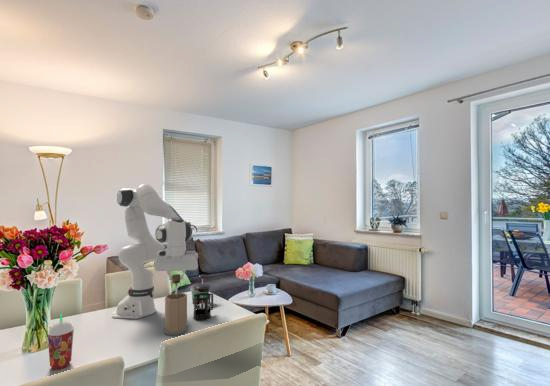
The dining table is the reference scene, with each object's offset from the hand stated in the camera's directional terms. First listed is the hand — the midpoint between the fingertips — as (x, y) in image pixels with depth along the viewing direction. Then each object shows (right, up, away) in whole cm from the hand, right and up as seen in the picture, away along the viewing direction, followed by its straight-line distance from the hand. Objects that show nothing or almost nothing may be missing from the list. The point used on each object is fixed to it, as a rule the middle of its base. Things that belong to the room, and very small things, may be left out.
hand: (176, 279), depth 150 cm
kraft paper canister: (0, -25, +1) cm, 25 cm away
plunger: (0, -14, 0) cm, 14 cm away
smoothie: (-35, -25, -31) cm, 53 cm away
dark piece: (+2, -26, +38) cm, 46 cm away
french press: (+9, -26, +17) cm, 32 cm away
